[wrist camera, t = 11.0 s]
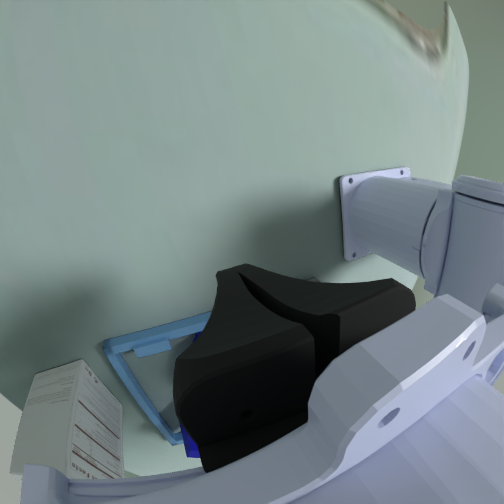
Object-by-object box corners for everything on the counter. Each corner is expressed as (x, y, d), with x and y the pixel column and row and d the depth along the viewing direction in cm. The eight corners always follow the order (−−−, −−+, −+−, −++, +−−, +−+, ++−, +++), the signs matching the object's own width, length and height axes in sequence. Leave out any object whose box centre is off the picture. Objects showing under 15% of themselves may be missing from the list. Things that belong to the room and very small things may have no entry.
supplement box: (74, 416, 21) (68, 510, 10) (33, 371, 18) (5, 472, 7) (124, 405, 23) (131, 511, 11) (84, 356, 20) (65, 477, 8)
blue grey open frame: (314, 277, 24) (324, 284, 23) (318, 389, 31) (324, 397, 29) (104, 340, 20) (101, 352, 18) (170, 438, 26) (172, 448, 25)
